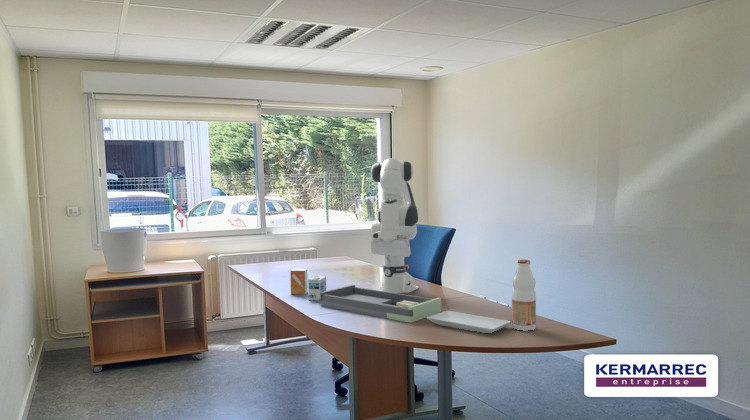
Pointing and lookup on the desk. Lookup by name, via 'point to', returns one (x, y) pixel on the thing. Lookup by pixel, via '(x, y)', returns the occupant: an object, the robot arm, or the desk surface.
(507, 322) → the tray
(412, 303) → the block
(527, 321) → the fruit juice
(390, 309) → the tray
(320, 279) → the light bulb box
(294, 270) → the small box
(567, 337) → the desk surface
